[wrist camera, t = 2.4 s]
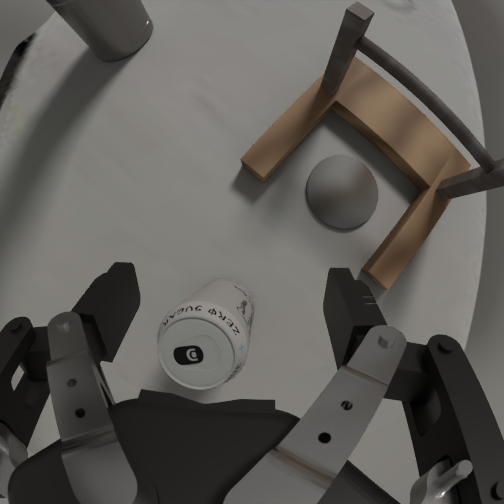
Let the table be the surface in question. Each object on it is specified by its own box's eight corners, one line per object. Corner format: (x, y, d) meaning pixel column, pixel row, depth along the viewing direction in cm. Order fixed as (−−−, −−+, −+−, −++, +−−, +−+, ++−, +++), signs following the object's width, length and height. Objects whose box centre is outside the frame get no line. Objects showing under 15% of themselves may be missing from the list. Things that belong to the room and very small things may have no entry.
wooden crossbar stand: (242, 165, 31) (223, 99, 16) (343, 62, 30) (378, -22, 15) (379, 286, 31) (459, 317, 16) (460, 169, 30) (543, 138, 15)
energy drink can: (259, 327, 32) (255, 392, 17) (205, 336, 32) (162, 400, 17) (248, 272, 32) (235, 298, 17) (193, 282, 32) (138, 313, 17)
